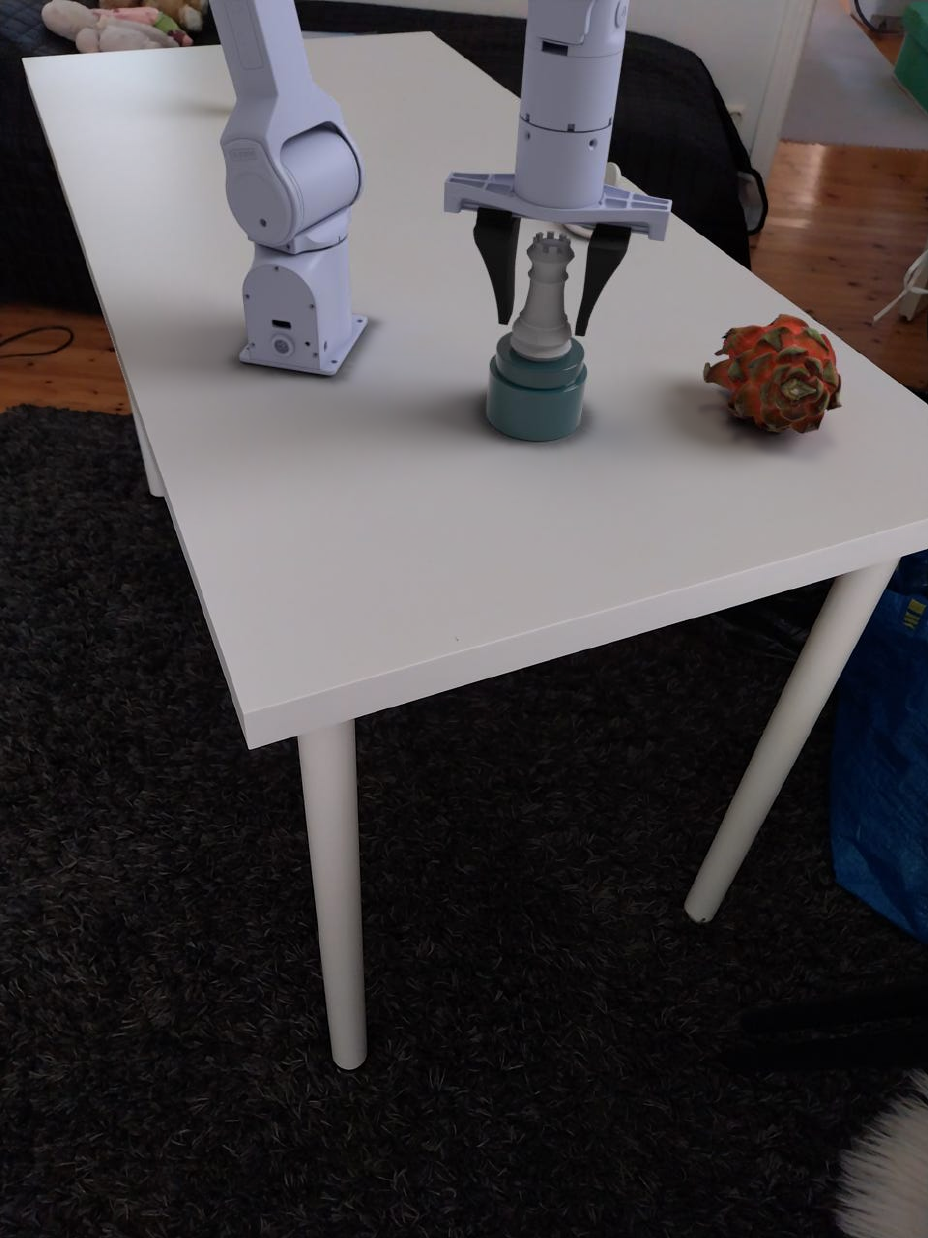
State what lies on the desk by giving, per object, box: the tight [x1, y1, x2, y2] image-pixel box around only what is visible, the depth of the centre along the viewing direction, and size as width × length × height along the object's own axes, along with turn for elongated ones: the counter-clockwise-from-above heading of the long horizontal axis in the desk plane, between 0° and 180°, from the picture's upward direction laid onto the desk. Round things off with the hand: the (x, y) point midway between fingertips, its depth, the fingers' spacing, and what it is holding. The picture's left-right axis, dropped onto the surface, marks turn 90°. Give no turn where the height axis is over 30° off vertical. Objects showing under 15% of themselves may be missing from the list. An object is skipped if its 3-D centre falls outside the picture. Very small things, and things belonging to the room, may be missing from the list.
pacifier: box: [563, 161, 622, 239], centre depth 96 cm, size 7×6×6 cm
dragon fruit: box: [702, 313, 843, 435], centre depth 72 cm, size 8×8×12 cm
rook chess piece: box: [510, 230, 576, 362], centre depth 67 cm, size 4×4×8 cm
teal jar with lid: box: [485, 330, 588, 442], centre depth 71 cm, size 7×7×6 cm
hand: (543, 323), depth 68 cm, fingers open, 5 cm apart
